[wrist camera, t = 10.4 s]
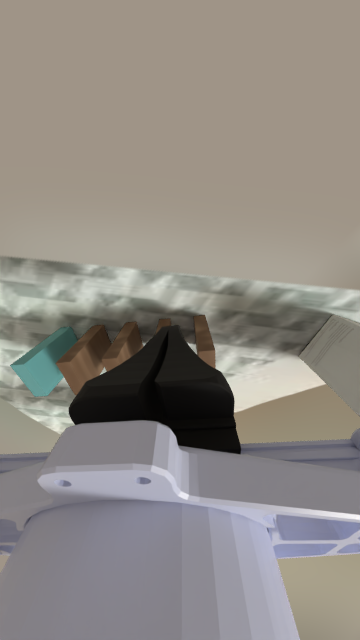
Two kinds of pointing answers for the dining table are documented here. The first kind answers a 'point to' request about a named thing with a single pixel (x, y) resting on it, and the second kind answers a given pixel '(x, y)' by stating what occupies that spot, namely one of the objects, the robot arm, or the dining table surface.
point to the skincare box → (337, 358)
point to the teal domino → (44, 362)
